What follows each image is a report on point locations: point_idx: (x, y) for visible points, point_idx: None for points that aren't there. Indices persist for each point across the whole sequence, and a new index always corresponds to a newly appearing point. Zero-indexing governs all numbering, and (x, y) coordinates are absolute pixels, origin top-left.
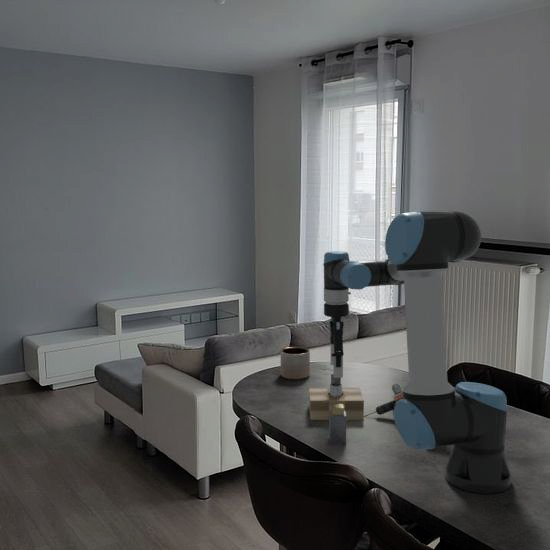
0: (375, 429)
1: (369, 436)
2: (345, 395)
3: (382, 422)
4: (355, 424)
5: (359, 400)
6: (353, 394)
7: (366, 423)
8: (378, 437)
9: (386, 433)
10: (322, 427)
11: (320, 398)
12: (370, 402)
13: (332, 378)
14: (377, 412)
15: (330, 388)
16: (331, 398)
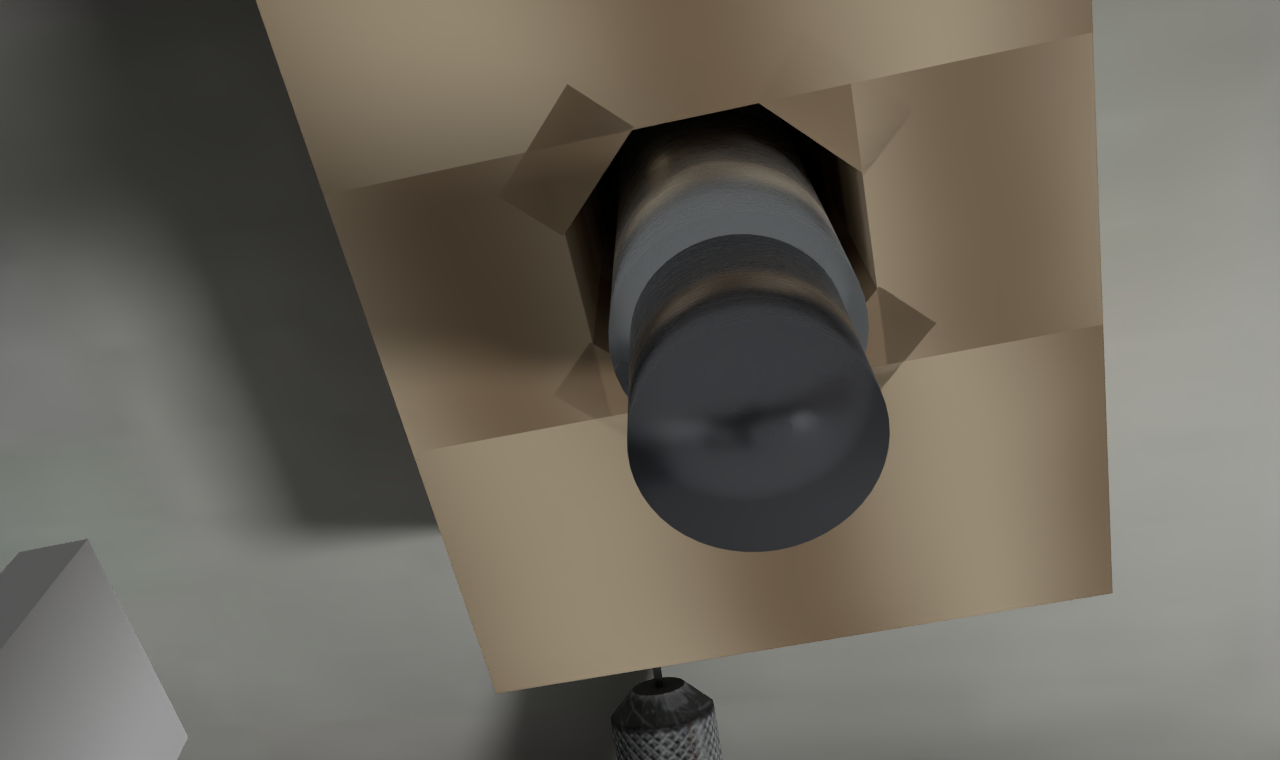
0: (278, 654)
1: None
2: None
3: (504, 702)
4: (350, 454)
5: (484, 641)
6: None
7: (423, 561)
8: None
9: (212, 747)
10: (85, 63)
11: (389, 8)
12: (1158, 551)
13: (656, 344)
14: (626, 697)
15: (667, 208)
16: (451, 221)
